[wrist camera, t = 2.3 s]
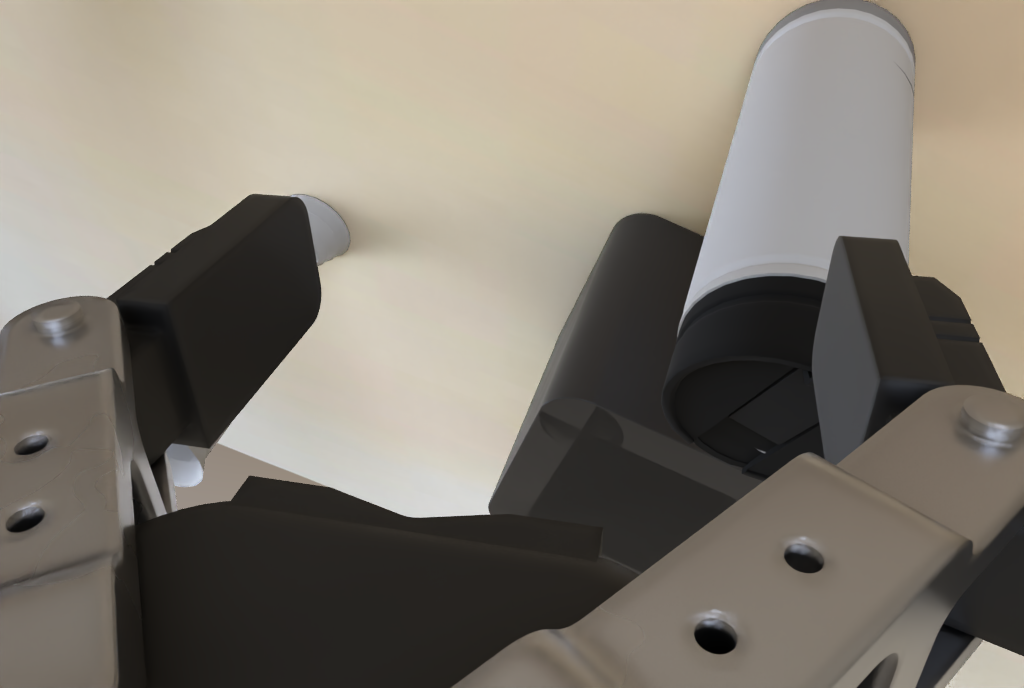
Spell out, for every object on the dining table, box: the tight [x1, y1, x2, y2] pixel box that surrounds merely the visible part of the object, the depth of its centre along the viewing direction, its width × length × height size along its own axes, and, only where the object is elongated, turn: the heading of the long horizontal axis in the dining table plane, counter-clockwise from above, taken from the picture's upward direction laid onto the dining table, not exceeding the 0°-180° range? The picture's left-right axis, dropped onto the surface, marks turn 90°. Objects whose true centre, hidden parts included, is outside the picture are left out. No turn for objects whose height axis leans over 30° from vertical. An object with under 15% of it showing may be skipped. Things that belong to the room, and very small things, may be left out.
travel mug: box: [661, 0, 915, 481], centre depth 27 cm, size 6×7×20 cm
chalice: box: [166, 195, 350, 487], centre depth 46 cm, size 7×7×18 cm
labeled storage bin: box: [488, 214, 763, 575], centre depth 43 cm, size 18×14×13 cm
